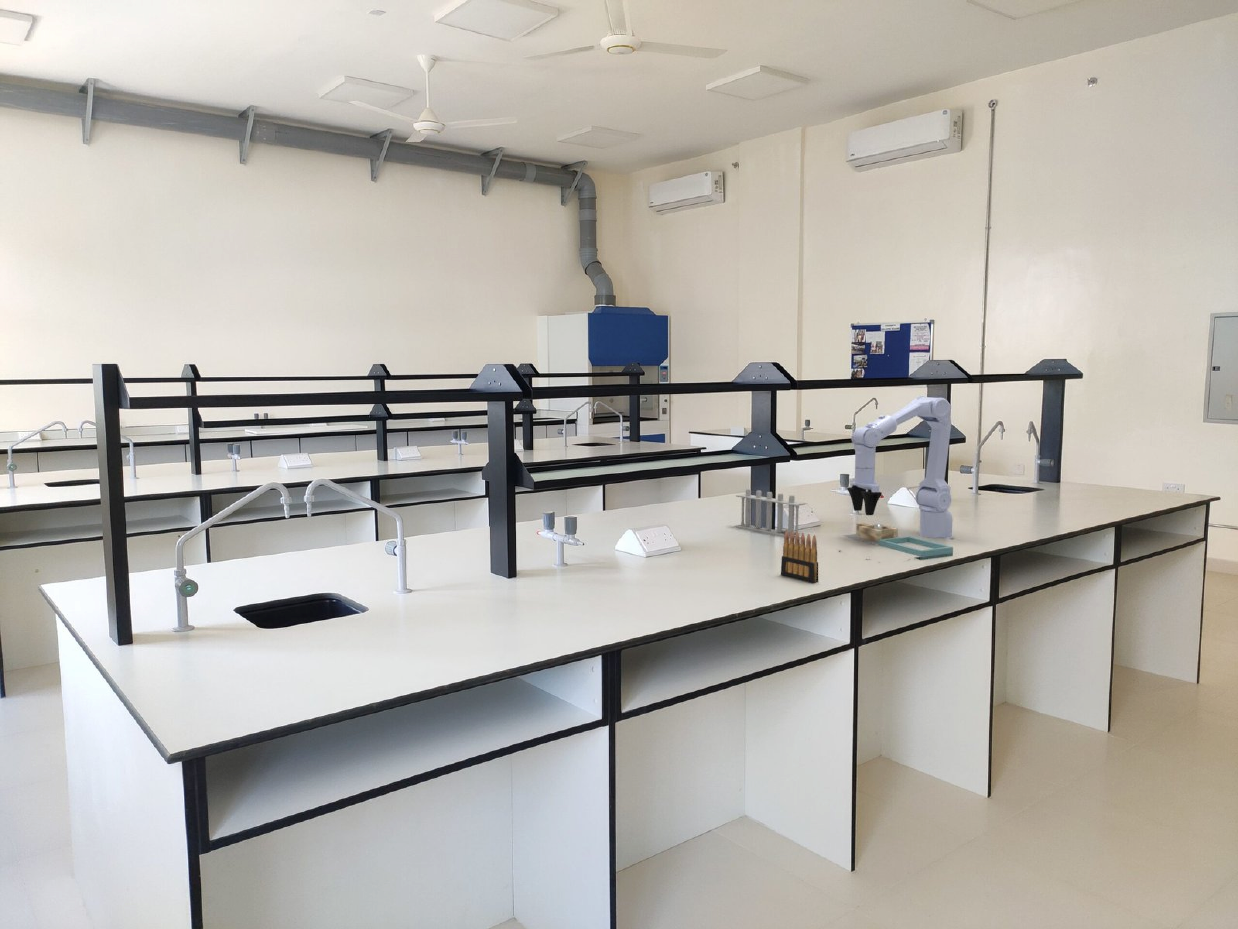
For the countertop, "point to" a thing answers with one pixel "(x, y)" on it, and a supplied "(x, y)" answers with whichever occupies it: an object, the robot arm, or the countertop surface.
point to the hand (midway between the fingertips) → (863, 512)
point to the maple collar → (875, 532)
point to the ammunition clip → (800, 558)
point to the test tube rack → (768, 513)
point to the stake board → (855, 536)
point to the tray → (936, 552)
